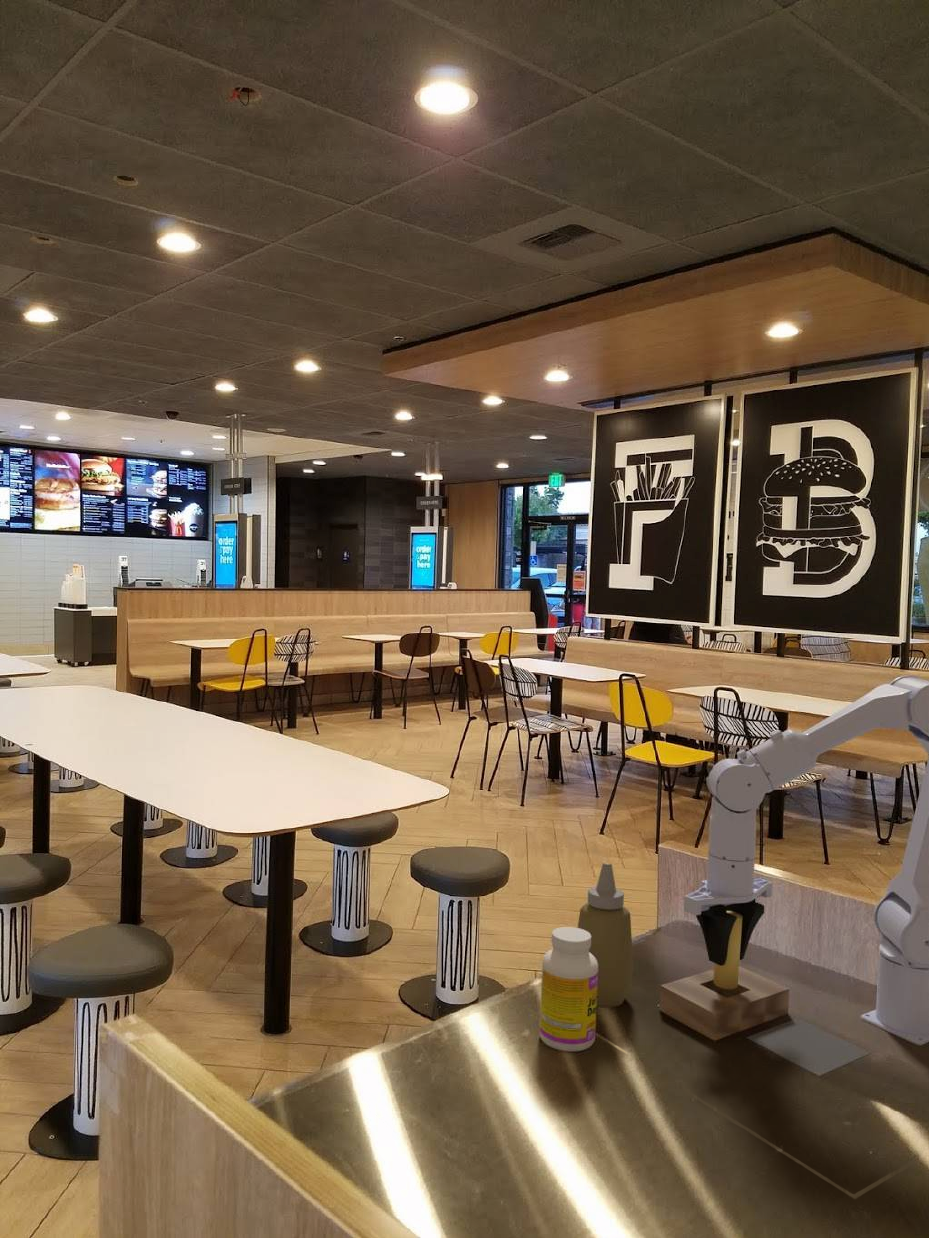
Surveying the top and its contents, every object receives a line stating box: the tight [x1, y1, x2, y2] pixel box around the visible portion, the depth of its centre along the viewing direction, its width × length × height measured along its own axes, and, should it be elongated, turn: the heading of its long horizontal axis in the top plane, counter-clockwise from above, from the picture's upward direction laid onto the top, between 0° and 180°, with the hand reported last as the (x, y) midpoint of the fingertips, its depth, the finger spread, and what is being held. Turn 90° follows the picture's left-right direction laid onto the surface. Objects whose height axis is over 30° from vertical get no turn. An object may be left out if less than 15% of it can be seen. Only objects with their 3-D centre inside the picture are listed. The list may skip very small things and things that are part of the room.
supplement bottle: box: [539, 926, 598, 1053], centre depth 109 cm, size 7×7×13 cm
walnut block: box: [658, 965, 790, 1042], centre depth 118 cm, size 14×9×4 cm, turn 124°
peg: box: [713, 911, 742, 989], centre depth 117 cm, size 3×3×9 cm
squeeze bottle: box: [577, 862, 635, 1008], centre depth 120 cm, size 8×8×18 cm
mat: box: [746, 1017, 871, 1077], centre depth 110 cm, size 10×10×1 cm
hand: (726, 959), depth 117 cm, fingers closed on peg, 3 cm apart
